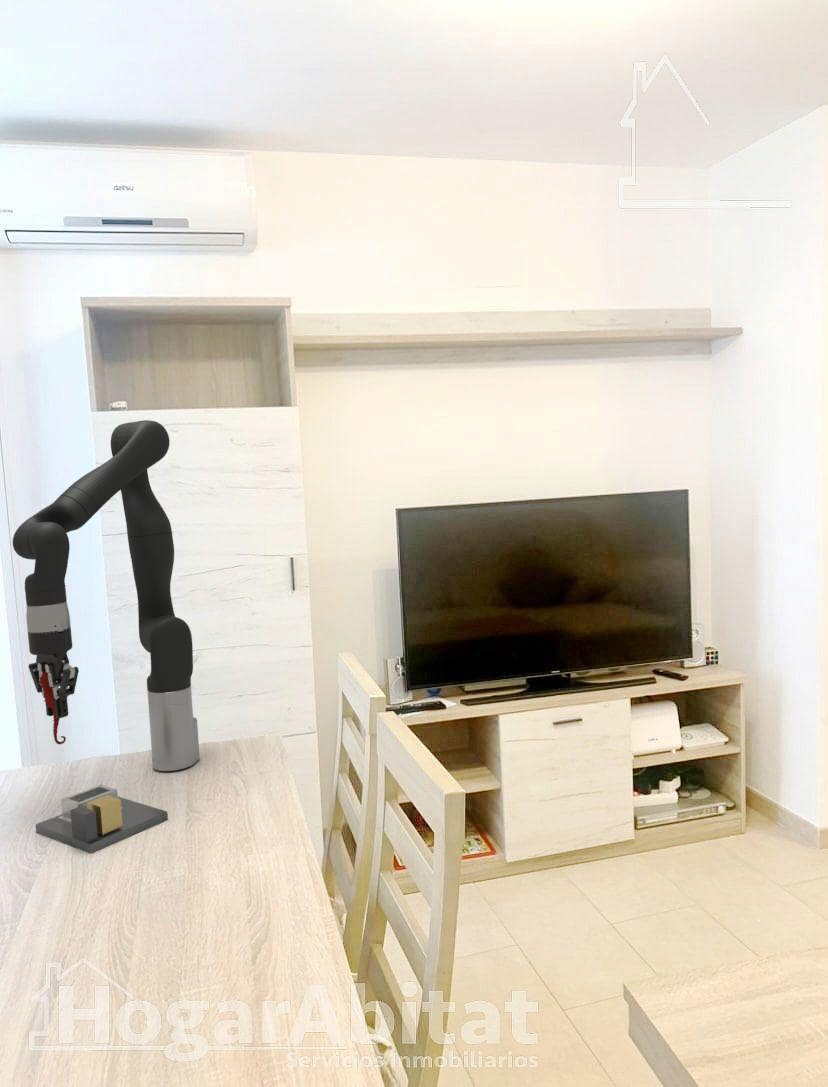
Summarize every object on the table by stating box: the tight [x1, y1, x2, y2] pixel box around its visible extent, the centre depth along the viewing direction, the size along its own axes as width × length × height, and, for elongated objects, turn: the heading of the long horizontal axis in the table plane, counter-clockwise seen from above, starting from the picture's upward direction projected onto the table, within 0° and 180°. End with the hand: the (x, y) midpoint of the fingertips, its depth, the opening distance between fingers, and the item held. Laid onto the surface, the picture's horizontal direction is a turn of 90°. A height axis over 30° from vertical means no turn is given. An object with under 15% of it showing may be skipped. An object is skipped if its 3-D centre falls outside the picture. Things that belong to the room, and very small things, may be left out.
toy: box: [39, 671, 67, 745], centre depth 156 cm, size 2×5×15 cm, turn 119°
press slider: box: [87, 795, 123, 835], centre depth 144 cm, size 4×4×5 cm
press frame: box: [35, 784, 169, 854], centre depth 150 cm, size 16×17×6 cm
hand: (57, 715), depth 156 cm, fingers closed on toy, 2 cm apart
